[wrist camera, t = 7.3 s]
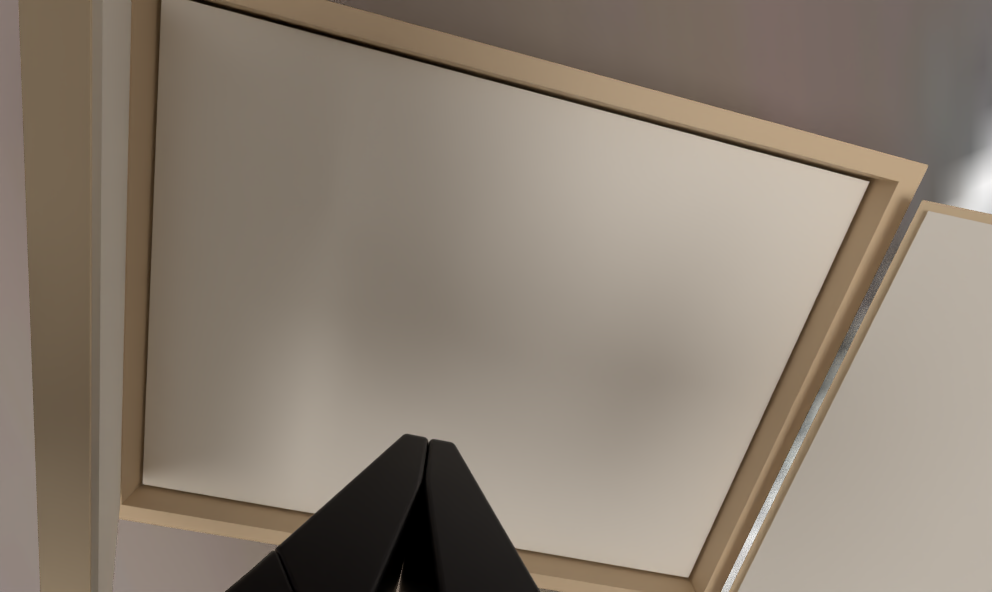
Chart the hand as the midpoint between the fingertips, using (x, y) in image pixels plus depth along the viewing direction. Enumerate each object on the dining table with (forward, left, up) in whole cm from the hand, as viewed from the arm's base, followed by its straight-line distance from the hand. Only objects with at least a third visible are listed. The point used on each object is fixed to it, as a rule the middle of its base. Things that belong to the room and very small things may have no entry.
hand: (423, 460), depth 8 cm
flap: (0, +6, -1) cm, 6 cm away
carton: (0, -1, -11) cm, 11 cm away
